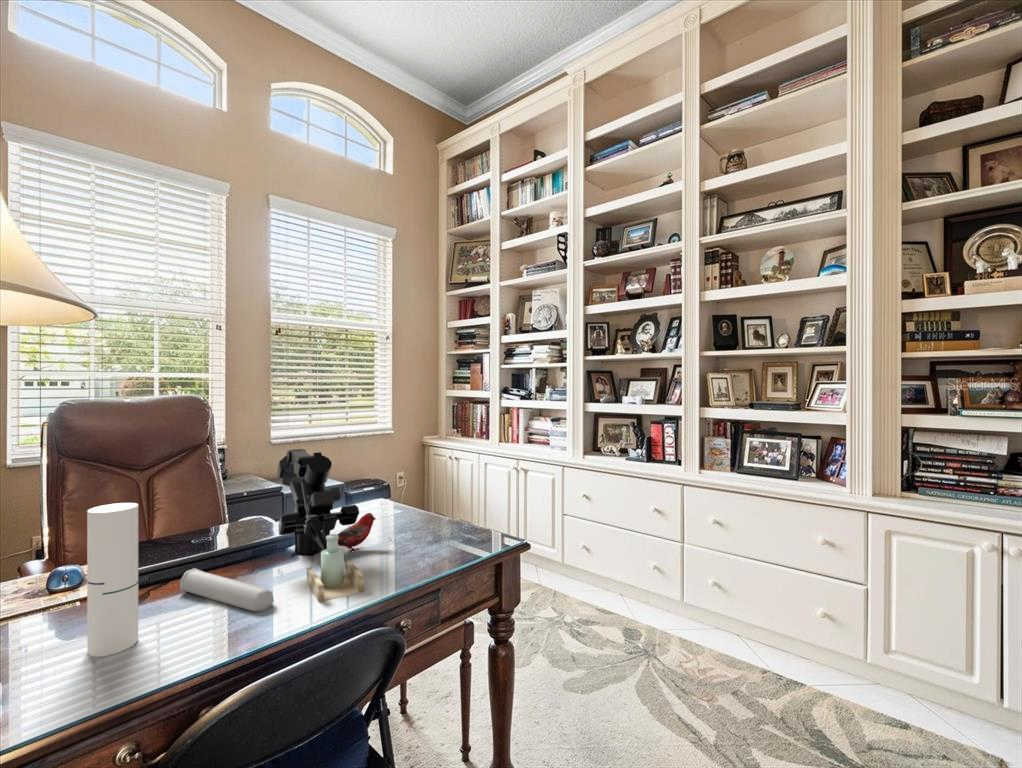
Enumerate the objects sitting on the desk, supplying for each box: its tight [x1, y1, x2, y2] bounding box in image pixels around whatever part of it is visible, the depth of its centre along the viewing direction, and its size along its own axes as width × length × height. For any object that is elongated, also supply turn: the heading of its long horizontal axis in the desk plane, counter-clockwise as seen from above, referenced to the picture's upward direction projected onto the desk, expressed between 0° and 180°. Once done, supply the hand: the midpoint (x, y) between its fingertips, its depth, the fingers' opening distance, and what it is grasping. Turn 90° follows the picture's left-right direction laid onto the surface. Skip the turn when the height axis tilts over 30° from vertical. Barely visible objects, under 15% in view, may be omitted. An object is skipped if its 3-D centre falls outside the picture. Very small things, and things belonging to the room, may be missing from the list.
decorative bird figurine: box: [337, 512, 377, 553], centre depth 137 cm, size 3×18×10 cm, turn 138°
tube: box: [179, 567, 275, 612], centre depth 107 cm, size 5×5×25 cm
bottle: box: [320, 533, 345, 588], centre depth 115 cm, size 5×5×11 cm
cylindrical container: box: [86, 502, 139, 658], centre depth 89 cm, size 7×7×25 cm
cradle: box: [306, 559, 365, 603], centre depth 113 cm, size 12×10×4 cm
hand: (325, 549), depth 120 cm, fingers closed
